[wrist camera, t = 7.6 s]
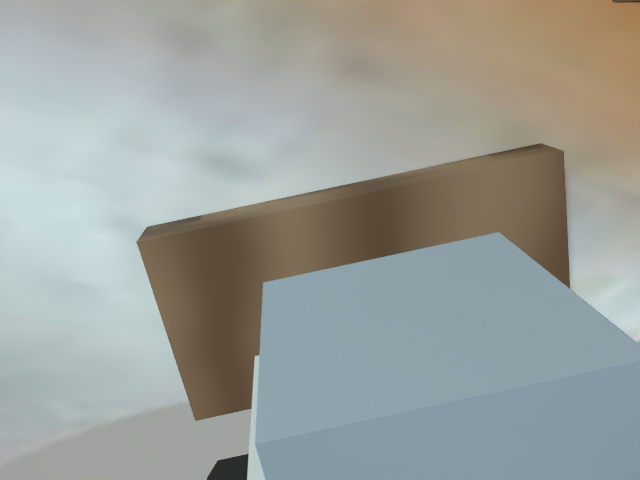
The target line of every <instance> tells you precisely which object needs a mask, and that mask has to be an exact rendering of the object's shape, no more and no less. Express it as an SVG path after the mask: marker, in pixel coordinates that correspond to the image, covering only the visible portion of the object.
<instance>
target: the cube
mask: <svg viewBox="0 0 640 480" xmlns="http://www.w3.org/2000/svg"><path fill="white" fill-rule="evenodd" d="M255 446H256V449H257V453H258V456H259V460H260V463H261V467H262V470H263V473H264V477H265V480H640V345H639V344H638V343H637V342H635V341H634V340H633V339H632V338H630V337H629V336H628V335H627V334H625V333H624V332H623V331H622V330H620V329H619V328H618V327H617V326H616V325H614V324H613V323H612V322H611V321H609V320H608V319H607V318H606V317H604V316H603V315H602V314H601V313H599V312H598V311H597V310H596V309H594V308H593V307H592V306H591V305H589V304H588V303H587V302H586V301H584V300H583V299H582V298H581V297H579V296H578V295H577V294H576V293H574V292H573V291H572V290H571V289H569V288H568V287H567V286H566V285H564V284H563V283H562V282H561V281H559V280H558V279H557V278H556V277H554V276H553V275H552V274H551V273H549V272H548V271H547V270H546V269H544V268H543V267H542V266H541V265H539V264H538V263H537V262H536V261H534V260H533V259H532V258H531V257H529V256H528V255H527V254H526V253H524V252H523V251H522V250H521V249H519V248H518V247H517V246H516V245H514V244H513V243H512V242H511V241H509V240H508V239H507V238H506V237H504V236H503V235H502V234H501V233H499V232H497V233H493V234H488V235H483V236H479V237H474V238H469V239H465V240H460V241H455V242H451V243H446V244H441V245H437V246H432V247H427V248H423V249H418V250H413V251H409V252H404V253H399V254H395V255H390V256H385V257H381V258H376V259H371V260H367V261H362V262H357V263H352V264H348V265H343V266H338V267H334V268H329V269H324V270H320V271H315V272H310V273H306V274H301V275H296V276H292V277H287V278H282V279H278V280H273V281H268V282H264V283H263V296H262V316H261V336H260V355H259V375H258V395H257V415H256V435H255Z"/></svg>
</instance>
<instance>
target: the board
mask: <svg viewBox="0 0 640 480" xmlns="http://www.w3.org/2000/svg"><path fill="white" fill-rule="evenodd" d="M497 232H499V233H501V234H502V235H503V236H504V237H506V238H507V239H508V240H509V241H511V242H512V243H513V244H514V245H516V246H517V247H518V248H519V249H521V250H522V251H523V252H524V253H526V254H527V255H528V256H529V257H531V258H532V259H533V260H534V261H536V262H537V263H538V264H539V265H541V266H542V267H543V268H544V269H546V270H547V271H548V272H549V273H551V274H552V275H553V276H554V277H556V278H557V279H558V280H559V281H561V282H562V283H563V284H564V285H566V286H567V287H568V288H569V289H570V280H569V259H568V237H567V215H566V193H565V171H564V151H561V150H559V149H556V148H553V147H550V146H547V145H544V144H536V145H531V146H527V147H522V148H517V149H512V150H508V151H503V152H498V153H494V154H489V155H484V156H479V157H475V158H470V159H465V160H461V161H456V162H451V163H446V164H442V165H437V166H432V167H428V168H423V169H418V170H413V171H409V172H404V173H399V174H395V175H390V176H385V177H381V178H376V179H371V180H366V181H362V182H357V183H352V184H348V185H343V186H338V187H333V188H329V189H324V190H319V191H315V192H310V193H305V194H300V195H296V196H291V197H286V198H282V199H277V200H272V201H267V202H263V203H258V204H253V205H249V206H244V207H239V208H235V209H230V210H225V211H220V212H216V213H211V214H206V215H202V216H197V217H192V218H187V219H183V220H178V221H173V222H169V223H164V224H159V225H154V226H150V227H147V228H146V229H145V231H144V232H143V234H142V235H141V237H140V238H139V239H138V241H137V244H138V247H139V250H140V253H141V256H142V260H143V263H144V266H145V269H146V272H147V275H148V278H149V281H150V284H151V287H152V290H153V293H154V296H155V299H156V302H157V305H158V308H159V311H160V314H161V317H162V320H163V323H164V326H165V329H166V333H167V336H168V339H169V342H170V345H171V348H172V351H173V354H174V357H175V360H176V363H177V366H178V369H179V372H180V375H181V378H182V381H183V384H184V387H185V390H186V393H187V396H188V399H189V402H190V406H191V408H192V411H193V415H194V417H195V420H201V419H206V418H210V417H215V416H219V415H224V414H229V413H233V412H238V411H242V410H246V409H251V408H252V393H253V377H254V361H255V356H258V355H260V336H261V316H262V296H263V283H264V282H268V281H273V280H278V279H282V278H287V277H292V276H296V275H301V274H306V273H310V272H315V271H320V270H324V269H329V268H334V267H338V266H343V265H348V264H352V263H357V262H362V261H367V260H371V259H376V258H381V257H385V256H390V255H395V254H399V253H404V252H409V251H413V250H418V249H423V248H427V247H432V246H437V245H441V244H446V243H451V242H455V241H460V240H465V239H469V238H474V237H479V236H483V235H488V234H493V233H497Z"/></svg>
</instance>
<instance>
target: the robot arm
mask: <svg viewBox="0 0 640 480" xmlns="http://www.w3.org/2000/svg"><path fill="white" fill-rule="evenodd" d="M258 375H259V355H258V356H255V361H254V377H253V393H252V409H251V425H250V441H249V454H247V455H242V456H237V457H232V458H228V459H223V460H219V461H217V463H216V464H215V466H214V468H213V469H212V471H211V472H210V474H209V476H208V477H207V480H265V477H264V473H263V470H262V467H261V463H260V460H259V456H258V453H257V449H256V446H255V435H256V415H257V395H258Z"/></svg>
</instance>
